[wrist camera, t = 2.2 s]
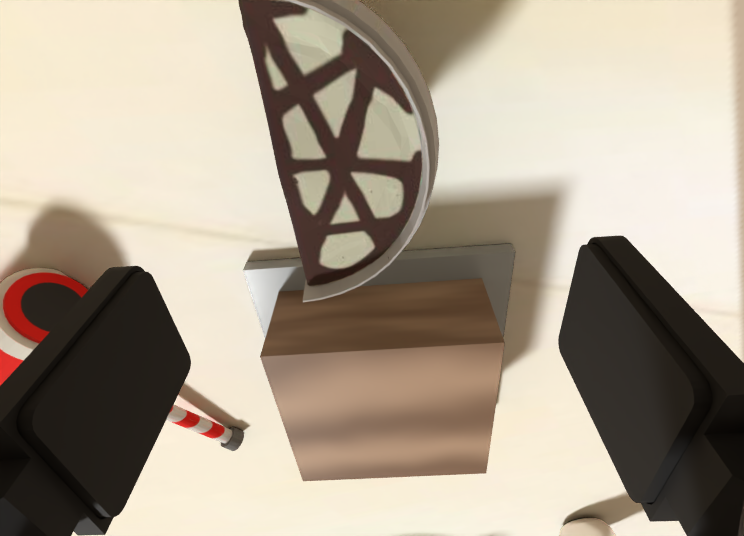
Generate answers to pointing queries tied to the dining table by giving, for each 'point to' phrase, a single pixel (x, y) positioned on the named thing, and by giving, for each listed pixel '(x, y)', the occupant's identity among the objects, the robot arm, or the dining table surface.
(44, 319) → the toy hammer
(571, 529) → the plastic bottle
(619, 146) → the dining table surface
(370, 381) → the walnut brick
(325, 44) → the food container
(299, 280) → the baseplate
